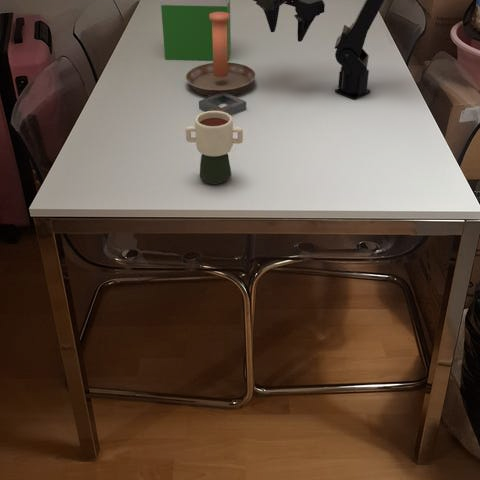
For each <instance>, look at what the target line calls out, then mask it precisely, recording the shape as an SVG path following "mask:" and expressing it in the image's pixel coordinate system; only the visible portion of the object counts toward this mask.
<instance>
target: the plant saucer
mask: <svg viewBox="0 0 480 480" xmlns="http://www.w3.org/2000/svg"><path fill="white" fill-rule="evenodd" d="M255 78H256V72H255V70H254V69H252V68H251V67H249V66H247V65H244V64H241V63H237V62H230V61H228V75H227V76H226V77H215V76H214V71H213V62H209V63H205V64H201V65H197V66H195V67H193V68H191V69H190V70H189V71H187V73H186V74H185V80H186V82H187V83H188V85H189V86H190V87H191V88H192V89H193V90H195V92H197V93H198V94H201V95H204V96H208V97H211V96H214V95H216V94H219V93H222V92H226V93H228V94H231V95H233V96H235V95H238V94H240V93H242V92H245V90H247V89H248V88H249V87H250V86H251V85H252V83H253V82H254V80H255Z"/></svg>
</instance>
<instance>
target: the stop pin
mask: <svg viewBox="0 0 480 480" xmlns="http://www.w3.org/2000/svg"><path fill="white" fill-rule="evenodd" d="M209 19H210V21H212V37H213V61H212V63H213V71H214V76H215V77H226V76H227V75H228V62H229V60H228V56H227V21H228V20H229V13H226V12H213V13H210V14H209Z"/></svg>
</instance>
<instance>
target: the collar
mask: <svg viewBox="0 0 480 480" xmlns="http://www.w3.org/2000/svg"><path fill="white" fill-rule="evenodd" d="M225 103H226V104H225ZM223 104H225V106H223V107H222V106H219V105H223ZM227 104H228V105H227ZM198 110H201V111H202V110H203V112H207V111H222V112H225V113H228V114H229V115H231V116H233V114H234V115H236V114H238V112H239V113H241V112H244V111H246V110H247V101H246V100H244V99H241V98H239V97H237V96H235V95H231V94H228V93H226V92H222V93H219V94H216V95H214V96H208V97H206V98H203V99H201V100H199V101H198ZM243 110H244V111H243ZM240 111H241V112H240Z"/></svg>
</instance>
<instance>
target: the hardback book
mask: <svg viewBox="0 0 480 480" xmlns="http://www.w3.org/2000/svg"><path fill="white" fill-rule="evenodd" d="M160 8H161V9H160V10H161V23H162V34H163V35H162V36H163V47H164V49H163V50H164V59H165V61H187V62H188V61H194V62H213V37H212V21H210V19H209V14H210V13H213V12H226V13H229V20H228V21H227V56H228V61H229V60H230V56H231V53H232V47H231V46H232V45H231V44H232V43H231V39H232V37H231V0H160Z"/></svg>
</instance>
